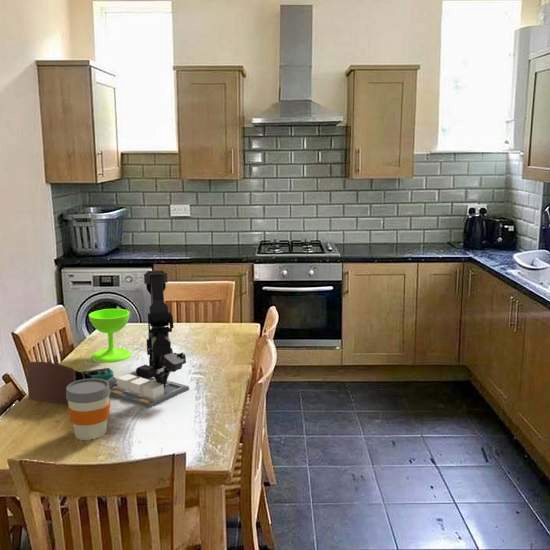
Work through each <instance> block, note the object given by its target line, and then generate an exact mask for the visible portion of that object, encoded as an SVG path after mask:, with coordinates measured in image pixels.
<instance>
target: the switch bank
mask: <svg viewBox="0 0 550 550" xmlns="http://www.w3.org/2000/svg"><path fill="white" fill-rule="evenodd" d="M139 378H142V377H139V376H138V377H137V379H139ZM144 379H146V378H144ZM147 380H150V383H152V382H157V381H156V379H155V378H154V377H152V378H150V379H147ZM189 390H190V386H189V385H186V384H185V385H184V384H182V383H178V382H175V381H172V380H168V379H167V382H166V385H165V389H164V395H162V396H160V397H158V398H156V399H152V398H149V397H146V396H144V395H143V394H142V395H139V394H136V393H133V392H130V390H128V391H127V390H123V389H120V388H118V387H117V386H114V387H113V386H112V389H110V395H109V396H113V397H116V398H119V399H121V400H124V401H127V402H131V403H134V404H137V405H139V406H143V407H145V406H146V408H149V407H150V408H152V406H153V407H155V406H157V405H159V404H161V403H163V402H166V401H167V400H170V399H172V398H174V397H177V396H178V394H179V395H181V394H182V392H183V393H185V392H188V391H189ZM180 393H181V394H180ZM171 397H172V398H171ZM169 398H170V399H169ZM165 400H166V401H165Z"/></svg>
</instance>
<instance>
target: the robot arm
mask: <svg viewBox="0 0 550 550" xmlns="http://www.w3.org/2000/svg"><path fill="white" fill-rule="evenodd" d="M143 283H144V284H145V285H146V290H147V292H148V293H149V295H150V303H151V304H150V306H149V313H147V328H148V333H147V334H148V338H147V339H146V353H147V354H146V355H147V356H149V357H148V362H149V363H148V364H149V365H148V364H142V365H140V366H138V367H136V368H135V376H137V377H138V378H139V377H142V378H146V379H150V378H152V377H154V378H155V379H156V381H157V383H160V384H164V389H165V385H166V382H167V380H168V379H169V376H170V374H171V373H174V372H175V373H176V372H177V371H178V370H181V369H182V367H183V365H185V364H186V363H187V358H186V356H187V355H186V353H184V352H180V353H177V352H173V348H172V345H171V344H172V343H171V340H170V335H169V333H172V332H173V329H174V318H173V316H174V315H173V314H172V312H170V311H169V306H168V304H167V303H165V297H164V291H165V290H166V287H167V285H166V284H167V283H169V282H168V273H167V272H165V271H164V269H159V270H147V271H146V272H145V273H143Z"/></svg>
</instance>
